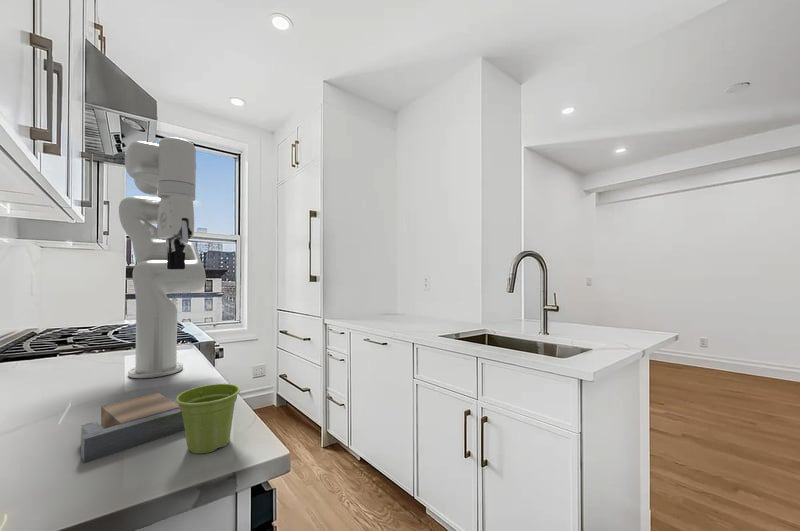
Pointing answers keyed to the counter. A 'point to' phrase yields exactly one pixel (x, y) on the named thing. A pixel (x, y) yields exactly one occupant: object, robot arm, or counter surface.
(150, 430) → the stop bracket
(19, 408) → the counter surface
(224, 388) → the plant pot
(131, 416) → the walnut slab
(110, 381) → the counter surface
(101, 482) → the counter surface
